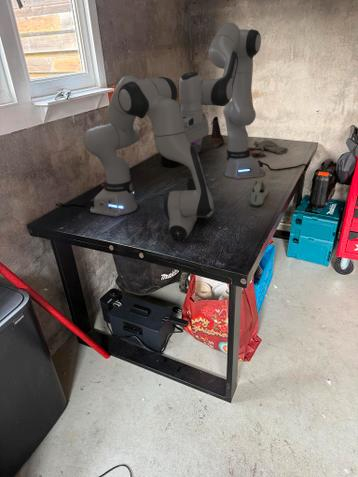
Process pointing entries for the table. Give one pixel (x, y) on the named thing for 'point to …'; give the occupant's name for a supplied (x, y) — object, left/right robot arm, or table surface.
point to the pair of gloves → (268, 146)
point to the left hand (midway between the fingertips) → (193, 201)
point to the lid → (197, 147)
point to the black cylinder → (190, 183)
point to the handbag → (168, 162)
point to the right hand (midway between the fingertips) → (194, 151)
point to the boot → (216, 133)
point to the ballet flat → (258, 193)
